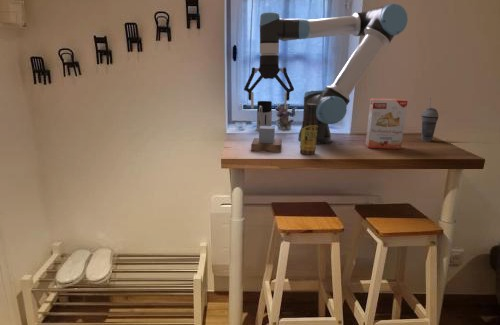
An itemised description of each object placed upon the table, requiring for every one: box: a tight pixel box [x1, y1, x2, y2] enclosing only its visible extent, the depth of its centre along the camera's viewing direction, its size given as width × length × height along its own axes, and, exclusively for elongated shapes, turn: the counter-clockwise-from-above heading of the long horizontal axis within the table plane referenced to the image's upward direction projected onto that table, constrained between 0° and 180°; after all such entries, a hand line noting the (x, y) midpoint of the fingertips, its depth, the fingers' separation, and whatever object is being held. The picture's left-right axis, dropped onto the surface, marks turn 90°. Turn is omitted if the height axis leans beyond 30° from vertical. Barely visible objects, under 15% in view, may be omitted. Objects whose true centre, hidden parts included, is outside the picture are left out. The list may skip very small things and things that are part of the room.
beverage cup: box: [420, 97, 439, 143], centre depth 172 cm, size 7×7×20 cm
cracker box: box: [365, 98, 408, 150], centre depth 157 cm, size 14×6×21 cm, turn 86°
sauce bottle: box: [299, 104, 318, 156], centre depth 146 cm, size 6×6×20 cm
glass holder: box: [255, 100, 273, 132], centre depth 192 cm, size 9×14×15 cm, turn 162°
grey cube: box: [258, 125, 276, 143], centre depth 154 cm, size 6×6×6 cm
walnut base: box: [250, 137, 283, 153], centre depth 156 cm, size 12×12×3 cm
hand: (268, 108), depth 151 cm, fingers open, 13 cm apart
